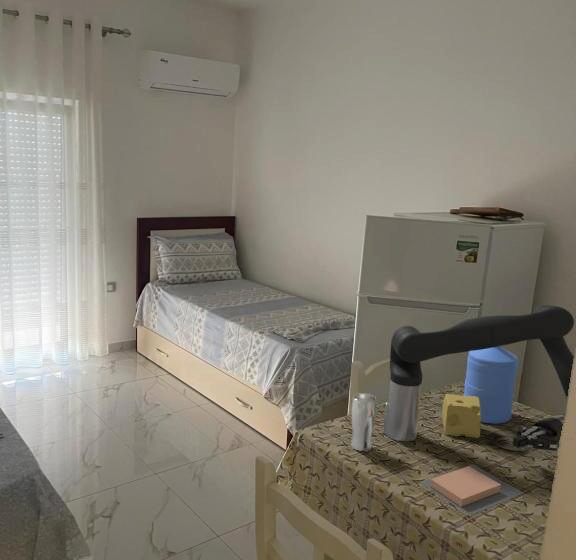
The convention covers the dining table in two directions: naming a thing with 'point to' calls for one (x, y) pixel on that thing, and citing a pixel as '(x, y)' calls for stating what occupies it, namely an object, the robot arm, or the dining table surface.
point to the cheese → (461, 415)
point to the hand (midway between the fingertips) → (515, 443)
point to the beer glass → (362, 420)
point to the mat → (503, 495)
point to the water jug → (492, 382)
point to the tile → (465, 486)
